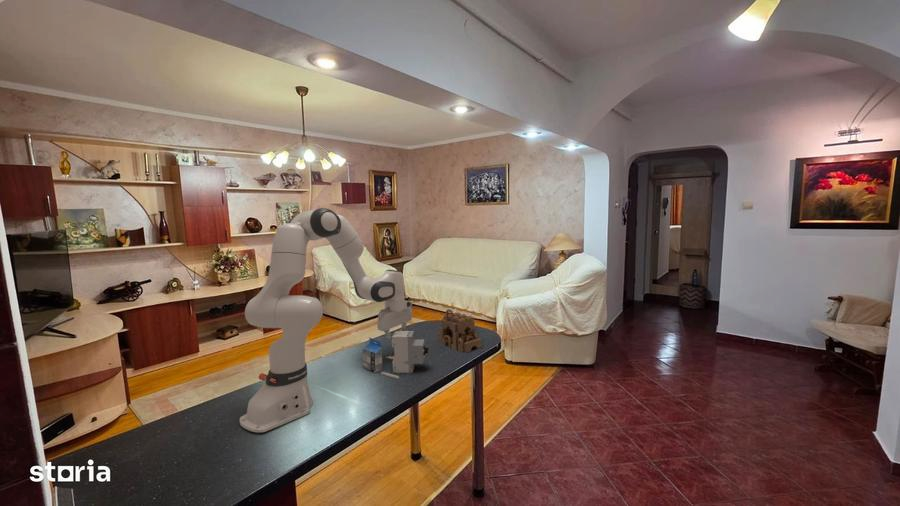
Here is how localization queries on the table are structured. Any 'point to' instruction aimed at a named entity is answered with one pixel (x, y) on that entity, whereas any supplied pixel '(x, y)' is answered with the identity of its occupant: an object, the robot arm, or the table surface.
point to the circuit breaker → (407, 351)
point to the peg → (390, 375)
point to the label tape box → (373, 356)
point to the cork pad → (391, 357)
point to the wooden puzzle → (459, 332)
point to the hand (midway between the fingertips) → (395, 335)
